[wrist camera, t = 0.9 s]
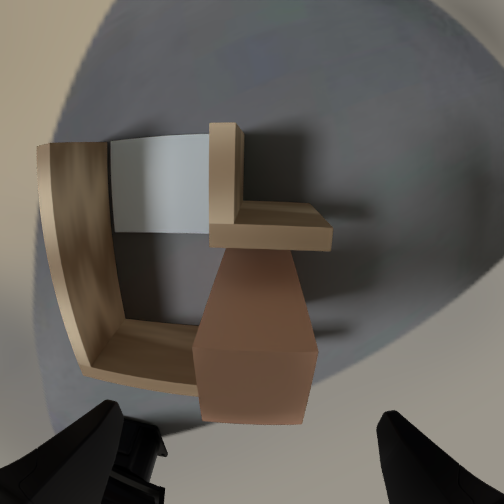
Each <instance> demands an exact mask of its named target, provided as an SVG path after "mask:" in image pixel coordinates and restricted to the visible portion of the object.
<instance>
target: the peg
mask: <svg viewBox="0 0 504 504" xmlns="http://www.w3.org/2000/svg"><path fill="white" fill-rule="evenodd" d="M192 351H193V360H194V368H195V375H196V383H197V390H198V396H199V403H200V409H201V416H202V421H209V422H220V423H234V424H256V425H294V424H295V425H296V424H302V422H303V418H304V414H305V410H306V406H307V402H308V397H309V393H310V389H311V384H312V380H313V375H314V371H315V366H316V361H317V356H318V348H317V344H316V340H315V336H314V333H313V329H312V325H311V321H310V318H309V314H308V310H307V307H306V303H305V299H304V296H303V292H302V289H301V285H300V282H299V278H298V275H297V271H296V268H295V264H294V261H293V258H292V254H291V251H290V250H276V249H246V248H226V250H225V253H224V256H223V258H222V261H221V264H220V267H219V270H218V273H217V275H216V278H215V281H214V284H213V287H212V290H211V293H210V296H209V298H208V301H207V304H206V307H205V310H204V313H203V316H202V319H201V322H200V325H199V328H198V331H197V334H196V337H195V340H194V343H193V346H192Z"/></svg>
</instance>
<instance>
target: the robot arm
mask: <svg viewBox="0 0 504 504" xmlns="http://www.w3.org/2000/svg"><path fill="white" fill-rule="evenodd" d="M376 431H377V438H378V446H379V454H380V462H381V468H382V473H383V477H384V481H385V486H386V490H387V495H388V499H389V504H504V494H503V493H501V492H500V491H498V490H496V489H495V488H493V487H491V486H489V485H488V484H486V483H485V482H483V481H481V480H480V479H478V478H477V477H475V476H474V475H473V474H471V473H470V472H469V471H467V470H466V469H465V468H464V467H462V466H461V465H459V463H457V462H456V461H455V460H454V459H453V458H451V457H450V456H449V455H448V454H447V453H446V452H444V451H443V450H442V449H441V448H439V447H438V446H437V445H436V444H435V443H433V442H432V441H431V440H430V439H429V438H428V437H426V436H425V435H424V434H423V433H422V432H420V431H419V430H418V429H417V428H416V427H415V426H414V425H412V424H411V423H410V422H409V421H408V420H407V419H406V418H404V417H403V416H402V415H401V414H400V413H399V412H397V411H395V410H392V411H387V412H384V413H383V415H382V417H381V419H380V421H379V423H378V425H377V429H376ZM157 455H158V456H163V457H167V455H168V452H167V450H166V448H165V445H164V442H163V440H162V437H161V435H160V432H159V429H158V428H157V427H155V426H152V425H147V424H142V423H138V422H133V421H129V420H125V419H124V416H123V414H122V411H121V409H120V407H119V404H118V403H117V402H116V401H112V400H104V401H103V402H102V403H100V404H99V405H97V406H96V407H95V408H93V409H92V410H91V411H89V412H88V413H86V414H85V415H84V416H82V417H81V418H79V419H78V420H77V421H75V422H74V423H72V424H71V425H69V426H68V427H67V428H65V429H64V430H62V431H61V432H59V433H58V434H57V435H55V436H54V437H52V438H51V439H49V440H48V441H46V442H45V443H43V444H42V445H41V446H39V447H38V449H34V450H33V451H32V452H30V453H29V454H27V455H25V456H24V457H22V458H20V459H19V460H17V461H15V462H13V463H11V464H9V465H7V466H5V467H3V468H0V504H164V495H165V488H164V487H161V486H160V487H159V486H156V485H154V484H152V483H149V482H150V478H151V475H152V471H153V468H154V464H155V461H156V458H157Z"/></svg>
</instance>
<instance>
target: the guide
mask: <svg viewBox="0 0 504 504" xmlns="http://www.w3.org/2000/svg"><path fill="white" fill-rule="evenodd" d="M244 135H245V134H244V133H243V132H242V130H241V129H240V128H239V126H238V125H237V124H236V123H210V124H209V134H190V135H171V136H157V137H145V138H135V139H126V140H118V141H111V184H112V202H113V215H114V226H115V232H156V233H204V234H209V247H215V248H246V249H276V250H305V251H331V245H332V236H333V227H332V226H331V225H330V224H329V223H328V222H327V221H326V220H325V219H324V218H323V217H322V216H321V215H320V213H319V212H318V211H317V210H316V209H315V208H314V207H313V206H312V205H311V204H310V203H295V202H272V201H243V179H244ZM37 176H38V192H39V203H40V213H41V221H42V228H43V235H44V241H45V247H46V252H47V258H48V263H49V268H50V272H51V277H52V281H53V285H54V289H55V293H56V297H57V301H58V304H59V308H60V311H61V315H62V318H63V321H64V324H65V327H66V330H67V334H68V336H69V339H70V342H71V345H72V348H73V351H74V353H75V356H76V359H77V361H78V364H79V366H80V369H81V371H82V374H83V375H84V376H88V377H91V378H95V379H99V380H103V381H108V382H112V383H116V384H121V385H126V386H131V387H136V388H141V389H147V390H153V391H159V392H165V393H172V394H180V395H188V396H196V397H199V396H198V390H197V383H196V375H195V368H194V360H193V351H192V346H193V343H194V340H195V337H196V334H197V331H198V328H199V326H194V325H181V324H170V323H160V322H150V321H141V320H133V319H126V318H125V314H124V309H123V304H122V298H121V293H120V287H119V281H118V275H117V269H116V262H115V255H114V247H113V238H112V229H111V219H110V207H109V192H108V168H107V142H65V143H48V144H44V145H40V146H37Z"/></svg>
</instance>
